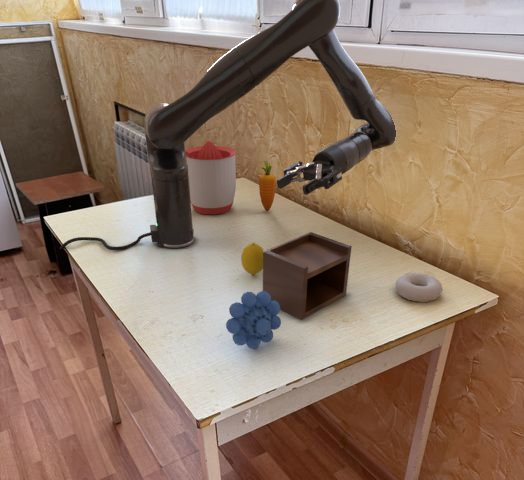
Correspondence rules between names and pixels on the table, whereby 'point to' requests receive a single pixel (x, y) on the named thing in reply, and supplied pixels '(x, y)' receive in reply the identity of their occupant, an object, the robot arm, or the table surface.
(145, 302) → the table surface
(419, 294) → the donut
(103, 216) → the table surface
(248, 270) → the lemon
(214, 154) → the citrus juicer
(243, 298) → the grapes
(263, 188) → the carrot
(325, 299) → the tray
